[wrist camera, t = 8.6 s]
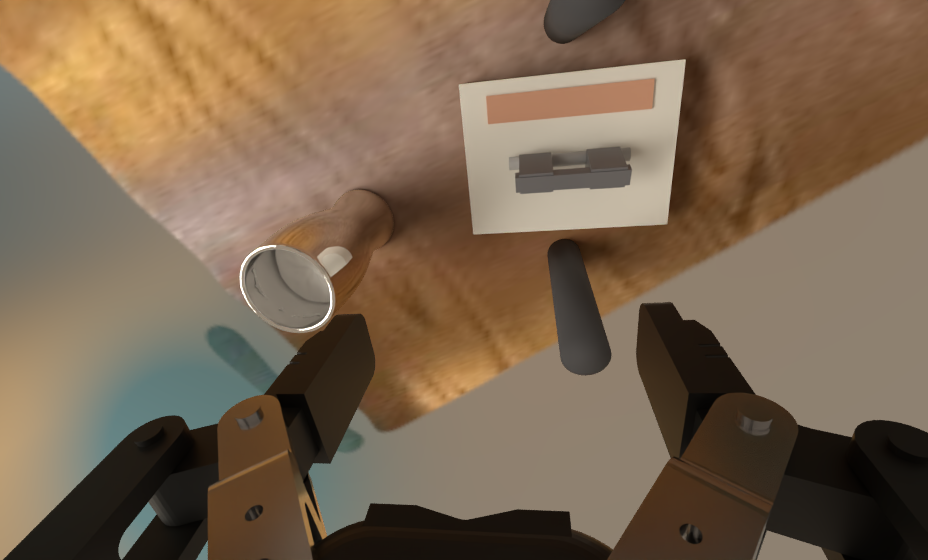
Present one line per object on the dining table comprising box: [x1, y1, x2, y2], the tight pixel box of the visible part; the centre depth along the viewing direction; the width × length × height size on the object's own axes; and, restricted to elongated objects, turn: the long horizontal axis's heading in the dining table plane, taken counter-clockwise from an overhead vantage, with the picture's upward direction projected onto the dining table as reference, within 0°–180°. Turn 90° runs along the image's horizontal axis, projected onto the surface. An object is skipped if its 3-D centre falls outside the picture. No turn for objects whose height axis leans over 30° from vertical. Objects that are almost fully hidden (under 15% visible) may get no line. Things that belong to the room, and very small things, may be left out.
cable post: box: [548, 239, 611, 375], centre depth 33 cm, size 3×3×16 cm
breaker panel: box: [459, 59, 686, 234], centre depth 34 cm, size 12×16×3 cm
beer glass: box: [239, 190, 394, 333], centre depth 34 cm, size 7×7×15 cm
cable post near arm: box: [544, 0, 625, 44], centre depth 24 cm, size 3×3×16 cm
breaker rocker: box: [509, 147, 632, 194], centre depth 31 cm, size 2×9×4 cm, turn 96°
